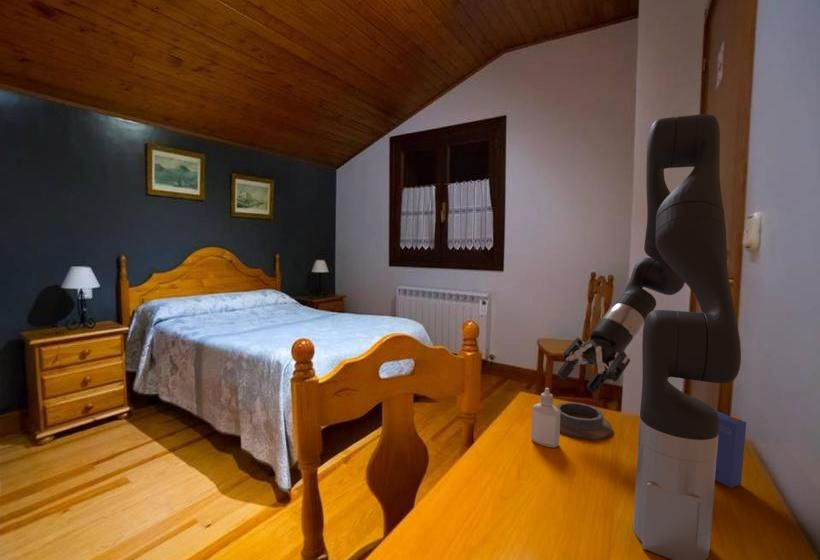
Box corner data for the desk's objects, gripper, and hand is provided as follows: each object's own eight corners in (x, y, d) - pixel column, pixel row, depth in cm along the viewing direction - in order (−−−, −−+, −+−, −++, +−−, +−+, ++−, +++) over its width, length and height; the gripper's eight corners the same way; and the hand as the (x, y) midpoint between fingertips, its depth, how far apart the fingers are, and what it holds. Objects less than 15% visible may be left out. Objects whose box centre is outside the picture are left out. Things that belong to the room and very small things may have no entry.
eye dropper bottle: (545, 450, 82) (547, 394, 81) (528, 438, 87) (530, 385, 86) (562, 447, 83) (564, 391, 82) (544, 435, 89) (546, 382, 87)
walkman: (741, 485, 70) (746, 420, 69) (730, 488, 70) (736, 422, 68) (696, 462, 78) (700, 403, 77) (686, 464, 77) (690, 405, 76)
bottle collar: (606, 446, 84) (606, 430, 83) (539, 428, 92) (540, 413, 91) (615, 422, 95) (616, 408, 95) (555, 408, 103) (556, 395, 103)
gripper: (584, 312, 95) (543, 363, 92) (636, 323, 82) (590, 383, 79) (600, 332, 97) (561, 383, 94) (654, 346, 84) (609, 406, 81)
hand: (574, 383), depth 87 cm, fingers open, 8 cm apart
